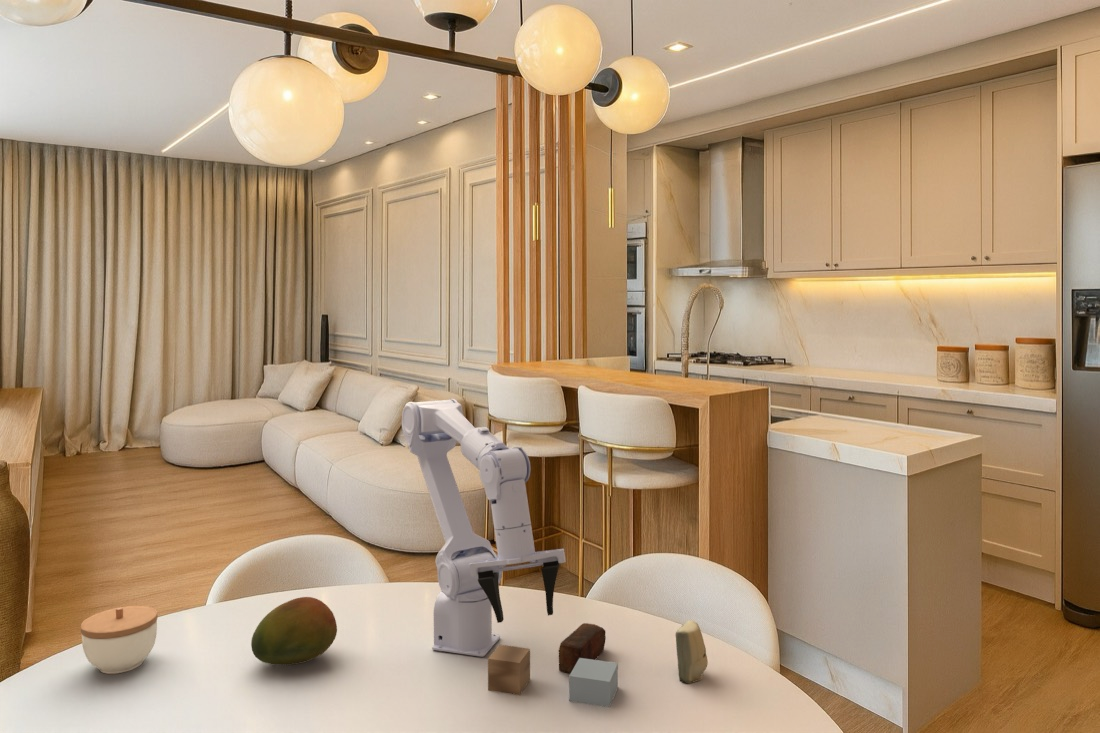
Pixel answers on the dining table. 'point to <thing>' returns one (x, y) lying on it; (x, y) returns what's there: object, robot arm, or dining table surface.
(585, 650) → the brick
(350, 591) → the dining table surface
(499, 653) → the walnut cube
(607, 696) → the slate block
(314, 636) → the fruit
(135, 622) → the lidded jar
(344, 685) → the dining table surface
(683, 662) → the tan tapered stone
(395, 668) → the dining table surface
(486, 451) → the robot arm
